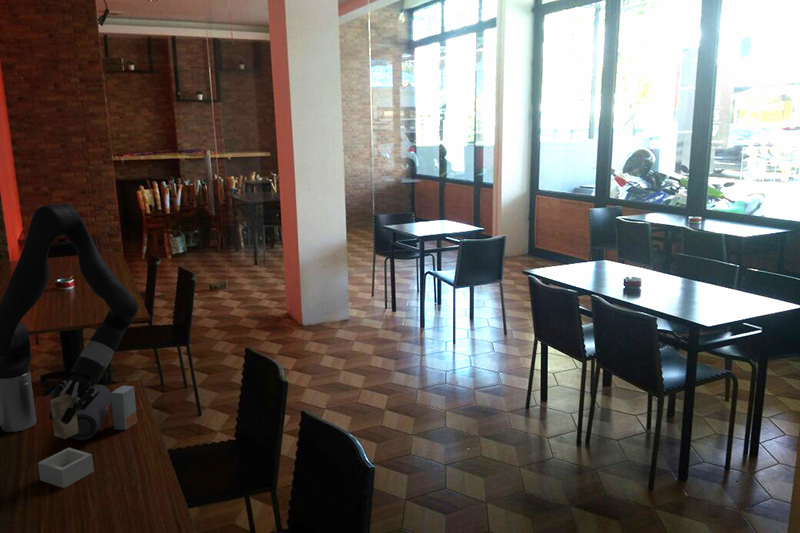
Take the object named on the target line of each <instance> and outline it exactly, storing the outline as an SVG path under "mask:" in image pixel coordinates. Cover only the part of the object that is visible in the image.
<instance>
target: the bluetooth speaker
mask: <svg viewBox="0 0 800 533" xmlns="http://www.w3.org/2000/svg"><path fill="white" fill-rule="evenodd" d="M93 388H94V389H96V390H97V391H99V394H98V395H97V396H96V397H95V398H94V400H93V401H92V402H91V403H90V404H89V405H88V406H87V407H86V409H85V410H79V411H76V414H77V422H78V431H79V433H77V434H74V435H72V436H70V437H71V438H72V439H74V440H78V441H84V440H85V441H86V440H89V439H91V438H92V437H93V436H94V435H95V434H96V433H97V432H98V431H99V429H100V428H101V425H102V424H103V422H104V420H105V418H106V416H107V414H108V411H109V410H110V407H111V405H112V402H111V390H110V389H109V388H108V387H107V386H106V385H103V384H94V387H93ZM85 402H86V401H84V402H83V403H82V404H84V403H85Z"/></svg>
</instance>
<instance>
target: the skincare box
mask: <svg viewBox="0 0 800 533" xmlns="http://www.w3.org/2000/svg"><path fill="white" fill-rule="evenodd" d="M110 392H111V391H110ZM135 393H136V392H135V386H132V385H121V386H120V387H117V388H116V389H114V390H113V391H112V392H111V410H112V422H113V430H120V431H121V430H122V431H126V430H128V429H129V428H131V427H132V426H133V425H135V424H136V423H138V419H137V406H136V405H137V404H136V395H135Z"/></svg>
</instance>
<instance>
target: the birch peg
mask: <svg viewBox="0 0 800 533" xmlns="http://www.w3.org/2000/svg"><path fill="white" fill-rule="evenodd" d="M71 401H72V398H71V396H69V395H68V394H66V395H63V396H59V395H58V396H57V398H54V399H52V398H51V399H50V400H49V402H50V410H51V411H52V417H53V420H52V426H53V434H54V436H55V437H56V438H61V439H64V440H66V439H68V438H70V437H71V436H72V435H74V434H77V433H79V431H78V422H77V414H76V413H75V415H74V416H73V418H72V420H71V421H70V422H69V423H68V424H64V423H62V422H61V418H62V417H63V415H64V414H65V412H66V410H67V409H68V408H70V407H69V405H70V403H71ZM51 411H50V412H51Z"/></svg>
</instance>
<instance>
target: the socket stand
mask: <svg viewBox="0 0 800 533" xmlns="http://www.w3.org/2000/svg"><path fill="white" fill-rule="evenodd" d="M37 466H38V472H39V480H40V481H42V482H44V483H48V484H50V485H53V486H56V487H60V488H62V489H65V488H67V487H69V486H71V485H72V484H74V483H76V482H78V481H79V480H81V479H83V478H85V477H86V476H88V475H89V476H90V474H92V473H94V472H95V468H94V467H95V466H94V460H93V454H91V453H88V452H85V451H82V450H78V449H75V448H72V447H67V448H64V449H63V450H61V451H59V452H57V453H54V454H53V455H51V456H48V457H47V458H45V459H43V460H41V461H38V463H37Z"/></svg>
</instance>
